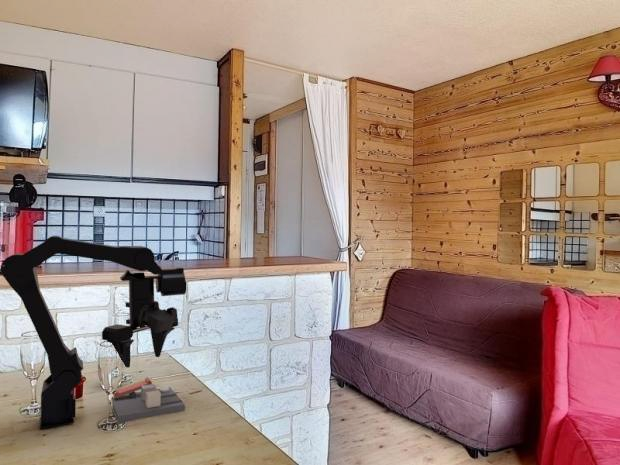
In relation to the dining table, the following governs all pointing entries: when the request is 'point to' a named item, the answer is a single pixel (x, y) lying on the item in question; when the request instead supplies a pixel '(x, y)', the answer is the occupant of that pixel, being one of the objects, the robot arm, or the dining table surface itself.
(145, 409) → the panel
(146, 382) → the rocker
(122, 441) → the dining table surface
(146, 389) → the middle slider
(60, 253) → the robot arm
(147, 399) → the front slider
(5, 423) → the dining table surface
